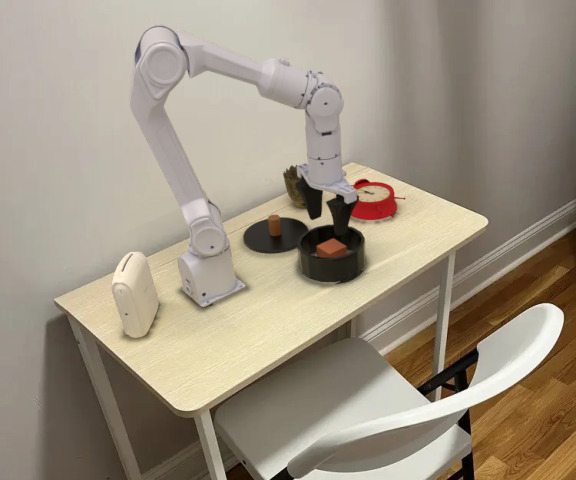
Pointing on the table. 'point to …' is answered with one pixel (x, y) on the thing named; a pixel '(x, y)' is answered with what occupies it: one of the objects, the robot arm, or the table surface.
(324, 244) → the block
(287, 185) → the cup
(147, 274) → the photo printer
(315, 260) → the pot
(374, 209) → the alarm clock
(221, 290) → the robot arm
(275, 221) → the lid
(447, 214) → the table surface
